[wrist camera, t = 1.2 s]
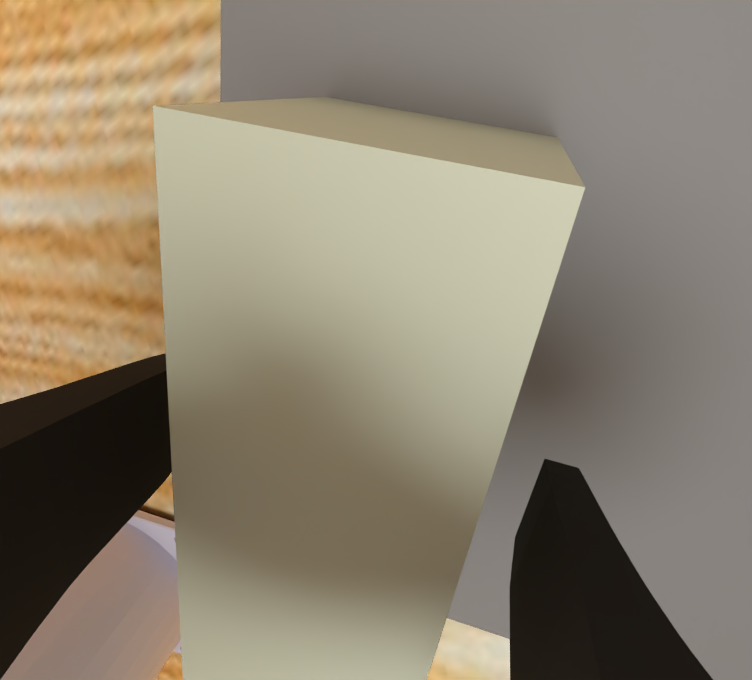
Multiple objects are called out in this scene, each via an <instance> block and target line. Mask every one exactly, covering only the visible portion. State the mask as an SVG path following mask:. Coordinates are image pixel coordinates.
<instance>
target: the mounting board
mask: <svg viewBox="0 0 752 680" xmlns="http://www.w3.org/2000/svg"><path fill="white" fill-rule="evenodd" d="M314 97H328V98H334V99H340V100H345V101H351V102H357V103H363V104H368V105H374V106H380V107H386V108H391V109H397V110H403V111H408V112H414V113H420V114H426V115H431V116H437V117H443V118H449V119H454V120H460V121H466V122H471V123H477V124H483V125H489V126H494V127H500V128H506V129H511V130H517V131H523V132H529V133H534V134H540V135H546V136H552V137H557V138H558V139H559V141H560V142H561V144H562V146H563V148H564V150H565V151H566V153H567V155H568V157H569V159H570V160H571V162H572V164H573V166H574V168H575V170H576V171H577V173H578V175H579V177H580V179H581V180H582V182H583V184H584V186H585V190H584V193H583V196H582V199H581V202H580V205H579V209H578V212H577V215H576V218H575V221H574V224H573V227H572V230H571V233H570V236H569V240H568V243H567V246H566V249H565V252H564V255H563V258H562V261H561V264H560V267H559V271H558V274H557V277H556V280H555V283H554V286H553V289H552V292H551V295H550V299H549V302H548V305H547V308H546V311H545V314H544V317H543V320H542V323H541V326H540V330H539V333H538V336H537V339H536V342H535V345H534V348H533V351H532V354H531V358H530V361H529V364H528V367H527V370H526V373H525V376H524V379H523V382H522V385H521V389H520V392H519V395H518V398H517V401H516V404H515V407H514V410H513V413H512V416H511V420H510V423H509V426H508V429H507V432H506V435H505V438H504V441H503V444H502V448H501V451H500V454H499V457H498V460H497V463H496V466H495V469H494V472H493V475H492V479H491V482H490V485H489V488H488V491H487V494H486V497H485V500H484V503H483V506H482V510H481V513H480V516H479V519H478V522H477V525H476V528H475V531H474V534H473V538H472V541H471V544H470V547H469V550H468V553H467V556H466V559H465V562H464V565H463V569H462V572H461V575H460V578H459V581H458V584H457V587H456V590H455V593H454V597H453V600H452V603H451V606H450V609H449V612H448V615H447V618H449V619H452V620H455V621H458V622H461V623H464V624H467V625H470V626H473V627H476V628H479V629H482V630H485V631H488V632H491V633H494V634H497V635H500V636H503V637H506V638H509V639H510V579H511V569H512V559H513V550H514V542H515V536H516V533H517V530H518V528H519V525H520V522H521V520H522V517H523V514H524V512H525V509H526V507H527V504H528V501H529V499H530V496H531V493H532V491H533V488H534V485H535V483H536V480H537V477H538V475H539V472H540V469H541V467H542V464H543V461H544V459H548V460H552V461H555V462H559V463H563V464H566V465H570V466H574V467H577V468H579V469H580V471H581V473H582V474H583V476H584V478H585V480H586V482H587V483H588V485H589V487H590V489H591V491H592V493H593V495H594V497H595V498H596V500H597V502H598V504H599V506H600V508H601V509H602V511H603V513H604V515H605V517H606V518H607V520H608V522H609V524H610V526H611V528H612V529H613V531H614V533H615V535H616V536H617V538H618V540H619V542H620V543H621V545H622V547H623V548H624V550H625V552H626V553H627V555H628V557H629V558H630V560H631V562H632V563H633V565H634V567H635V568H636V570H637V572H638V573H639V575H640V577H641V578H642V580H643V581H644V583H645V584H646V586H647V588H648V589H649V591H650V592H651V594H652V595H653V597H654V598H655V600H656V601H657V603H658V604H659V606H660V607H661V609H662V610H663V612H664V613H665V615H666V616H667V618H668V619H669V621H670V622H671V624H672V625H673V627H674V628H675V629H676V631H677V632H678V634H679V635H680V636H681V638H682V639H683V641H684V642H685V643H686V645H687V646H688V647H689V649H690V650H691V652H692V653H693V654H694V655H695V657H696V658H697V659H698V661H699V662H700V663H701V665H702V666H703V667H704V669H705V670H706V671H707V672H708V674H709V675H710V676H711V678H712V679H713V680H752V0H221V102H235V101H255V100H275V99H294V98H314Z"/></svg>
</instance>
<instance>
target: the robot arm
mask: <svg viewBox="0 0 752 680" xmlns="http://www.w3.org/2000/svg"><path fill="white" fill-rule="evenodd" d="M171 472H172V463H171V445H170V426H169V407H168V388H167V369H166V354H161V355H157V356H153V357H150V358H146V359H143V360H140V361H136V362H133V363H130V364H127V365H124V366H121V367H118V368H115V369H112V370H109V371H106V372H103V373H100V374H97V375H94V376H91V377H87V378H84V379H81V380H78V381H75V382H72V383H69V384H66V385H63V386H60V387H57V388H54V389H50V390H47V391H44V392H40V393H37V394H34V395H30V396H27V397H23V398H20V399H17V400H13V401H10V402H7V403H3V404H0V680H155V679H156V678H157V676H158V674H159V673H160V671H161V670H162V668H163V666H164V665H165V663H166V662H167V660H168V659H169V657H170V655H171V654H172V652H173V651H174V652H177V653H179V654H182V652H181V633H180V615H179V596H178V577H177V558H176V539H175V522H173V521H170V520H167V519H164V518H161V517H158V516H155V515H152V514H149V513H146V512H143V511H140V510H139V509H140V508H141V507H142V506H143V504H144V503H145V502H146V501H147V500H148V499H149V498H150V497H151V496H152V494H153V493H154V492H155V491H156V490H157V489H158V488H159V487H160V486H161V484H162V483H163V482H164V481H165V480H166V479H167V477H168V476H169V475H170V473H171ZM510 679H511V680H713V679H712V678H711V676H710V675H709V674H708V672H707V671H706V670H705V669H704V667H703V666H702V665H701V663H700V662H699V661H698V659H697V658H696V657H695V655H694V654H693V653H692V652H691V650H690V649H689V647H688V646H687V645H686V643H685V642H684V641H683V639H682V638H681V636H680V635H679V634H678V632H677V631H676V629H675V628H674V627H673V625H672V624H671V622H670V621H669V619H668V618H667V616H666V615H665V613H664V612H663V610H662V609H661V607H660V606H659V604H658V603H657V601H656V600H655V598H654V597H653V595H652V594H651V592H650V591H649V589H648V588H647V586H646V584H645V583H644V581H643V580H642V578H641V577H640V575H639V573H638V572H637V570H636V568H635V567H634V565H633V563H632V562H631V560H630V558H629V557H628V555H627V553H626V552H625V550H624V548H623V547H622V545H621V543H620V542H619V540H618V538H617V536H616V535H615V533H614V531H613V529H612V528H611V526H610V524H609V522H608V520H607V518H606V517H605V515H604V513H603V511H602V509H601V508H600V506H599V504H598V502H597V500H596V498H595V497H594V495H593V493H592V491H591V489H590V487H589V485H588V483H587V482H586V480H585V478H584V476H583V474H582V473H581V471H580V469H579V468H577V467H574V466H570V465H566V464H563V463H559V462H555V461H552V460H548V459H544V461H543V464H542V467H541V469H540V472H539V475H538V477H537V480H536V483H535V485H534V488H533V491H532V493H531V496H530V499H529V501H528V504H527V507H526V509H525V512H524V514H523V517H522V520H521V522H520V525H519V528H518V530H517V533H516V536H515V542H514V550H513V559H512V569H511V579H510Z"/></svg>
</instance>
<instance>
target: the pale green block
mask: <svg viewBox="0 0 752 680" xmlns="http://www.w3.org/2000/svg"><path fill="white" fill-rule="evenodd" d="M153 123H154V142H155V161H156V180H157V199H158V218H159V237H160V256H161V275H162V293H163V312H164V331H165V350H166V369H167V388H168V407H169V426H170V445H171V463H172V482H173V501H174V520H175V539H176V558H177V577H178V596H179V615H180V633H181V652H182V671H183V680H427V677H428V674H429V671H430V668H431V665H432V662H433V659H434V655H435V652H436V649H437V646H438V643H439V640H440V637H441V634H442V631H443V628H444V624H445V621H446V618H447V615H448V612H449V609H450V606H451V603H452V600H453V597H454V593H455V590H456V587H457V584H458V581H459V578H460V575H461V572H462V569H463V565H464V562H465V559H466V556H467V553H468V550H469V547H470V544H471V541H472V538H473V534H474V531H475V528H476V525H477V522H478V519H479V516H480V513H481V510H482V506H483V503H484V500H485V497H486V494H487V491H488V488H489V485H490V482H491V479H492V475H493V472H494V469H495V466H496V463H497V460H498V457H499V454H500V451H501V448H502V444H503V441H504V438H505V435H506V432H507V429H508V426H509V423H510V420H511V416H512V413H513V410H514V407H515V404H516V401H517V398H518V395H519V392H520V389H521V385H522V382H523V379H524V376H525V373H526V370H527V367H528V364H529V361H530V358H531V354H532V351H533V348H534V345H535V342H536V339H537V336H538V333H539V330H540V326H541V323H542V320H543V317H544V314H545V311H546V308H547V305H548V302H549V299H550V295H551V292H552V289H553V286H554V283H555V280H556V277H557V274H558V271H559V267H560V264H561V261H562V258H563V255H564V252H565V249H566V246H567V243H568V240H569V236H570V233H571V230H572V227H573V224H574V221H575V218H576V215H577V212H578V209H579V205H580V202H581V199H582V196H583V193H584V190H585V186H584V184H583V182H582V180H581V179H580V177H579V175H578V173H577V171H576V170H575V168H574V166H573V164H572V162H571V160H570V159H569V157H568V155H567V153H566V151H565V150H564V148H563V146H562V144H561V142H560V141H559V139H558V138H557V137H552V136H546V135H540V134H534V133H529V132H523V131H517V130H511V129H506V128H500V127H494V126H489V125H483V124H477V123H471V122H466V121H460V120H454V119H449V118H443V117H437V116H431V115H426V114H420V113H414V112H408V111H403V110H397V109H391V108H386V107H380V106H374V105H368V104H363V103H357V102H351V101H345V100H340V99H334V98H328V97H314V98H294V99H275V100H255V101H235V102H216V103H196V104H177V105H157V106H153Z"/></svg>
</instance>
